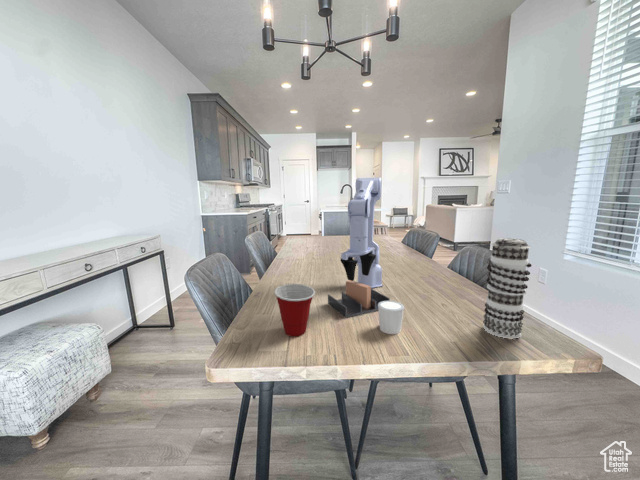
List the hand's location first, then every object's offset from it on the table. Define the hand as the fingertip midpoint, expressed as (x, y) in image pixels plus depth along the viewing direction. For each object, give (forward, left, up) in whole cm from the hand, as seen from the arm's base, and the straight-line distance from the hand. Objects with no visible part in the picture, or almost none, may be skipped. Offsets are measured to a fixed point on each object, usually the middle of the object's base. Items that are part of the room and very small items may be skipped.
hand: (358, 277), depth 85 cm
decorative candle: (-25, +31, -10) cm, 41 cm away
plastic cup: (+25, +7, -10) cm, 27 cm away
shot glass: (+1, +17, -10) cm, 20 cm away
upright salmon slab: (0, 0, -9) cm, 9 cm away
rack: (0, 0, -10) cm, 10 cm away
